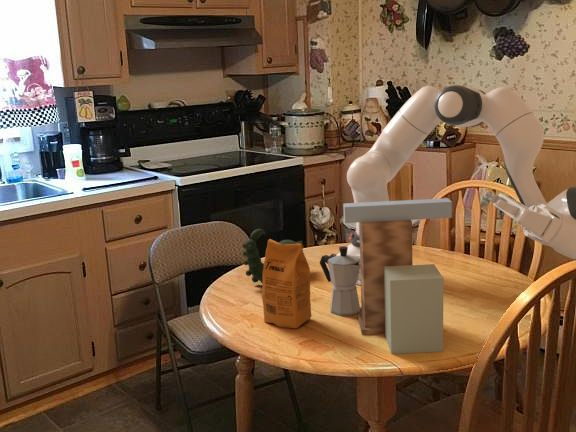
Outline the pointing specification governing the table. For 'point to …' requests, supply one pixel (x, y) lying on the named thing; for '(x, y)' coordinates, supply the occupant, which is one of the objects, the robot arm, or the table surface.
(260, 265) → the toy figurine
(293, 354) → the table surface
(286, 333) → the table surface
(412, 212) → the rail
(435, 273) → the step block
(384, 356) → the table surface
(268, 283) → the coffee package
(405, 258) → the walnut stand
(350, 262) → the coffee maker
